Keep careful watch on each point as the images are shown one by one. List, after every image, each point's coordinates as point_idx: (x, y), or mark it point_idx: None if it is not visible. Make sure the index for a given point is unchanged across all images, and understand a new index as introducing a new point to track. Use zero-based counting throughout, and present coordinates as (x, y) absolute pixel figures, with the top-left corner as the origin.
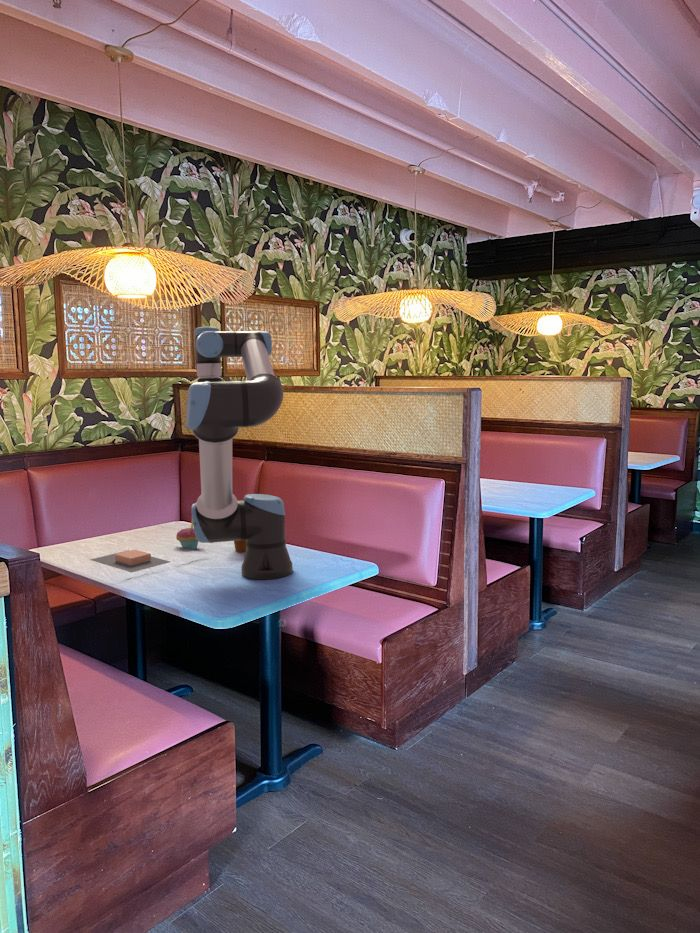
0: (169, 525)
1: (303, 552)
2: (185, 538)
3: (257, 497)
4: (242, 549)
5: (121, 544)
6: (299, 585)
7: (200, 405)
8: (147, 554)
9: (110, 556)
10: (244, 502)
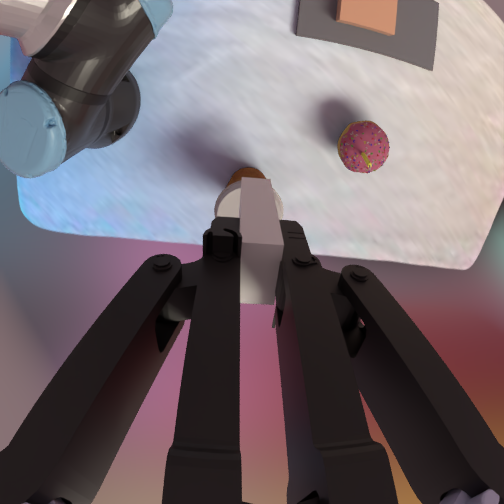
0: (473, 247)
1: (143, 225)
2: (352, 124)
3: (10, 111)
4: (238, 171)
5: (475, 118)
6: None
7: None
8: (340, 13)
9: (426, 26)
10: (31, 79)
